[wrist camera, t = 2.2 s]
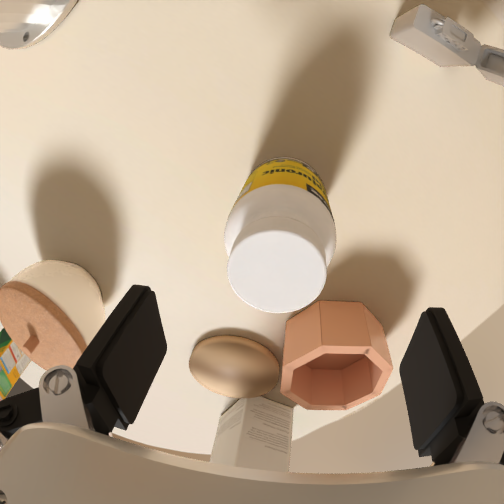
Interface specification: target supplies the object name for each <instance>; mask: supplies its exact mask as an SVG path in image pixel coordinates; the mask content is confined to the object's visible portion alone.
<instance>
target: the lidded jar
mask: <svg viewBox="0 0 504 504" xmlns="http://www.w3.org/2000/svg"><path fill="white" fill-rule="evenodd" d="M0 320H1V323H2V325H3V327H4V328H5V330H6V332H7V333H8V335H9V336H10V337H11V339H12V340H13V341H14V343H15V344H16V345H17V346H18V347H19V348H20V350H21V351H22V352H23V353H24V354H26V355H27V356H28V357H29V358H30V359H31V360H32V361H33V362H35V363H36V364H38V365H39V366H40V367H42V368H43V369H45V370H49V369H50V368H52V367H55V366H59V365H65V366H68V367H71V368H72V369H73V368H74V366H75V365H76V362H77V361H78V359H79V358H80V356H81V355H82V354H83V352H84V351H85V349H86V348H87V346H88V345H89V343H90V342H91V341H92V339H93V338H94V336H95V335H96V334H97V332H98V331H99V329H100V328H101V327H102V325H103V324H104V323H105V310H104V305H103V301H102V295H101V291H100V288H99V286H98V284H97V283H96V281H95V280H94V278H93V277H92V276H91V275H90V274H89V273H88V272H87V271H86V270H85V269H84V268H82V267H81V266H79V265H77V264H74V263H71V262H63V261H58V260H45V261H41V262H37V263H35V264H33V265H30V266H29V267H27V268H25V269H24V270H22V271H21V272H19V273H18V274H17V275H16V276H14V277H13V278H12V279H11V280H10V281H9V282H7V283H6V284H4V285H3V286H2V287H1V288H0Z"/></svg>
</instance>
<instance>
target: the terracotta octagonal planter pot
mask: <svg viewBox="0 0 504 504" xmlns="http://www.w3.org/2000/svg"><path fill="white" fill-rule="evenodd" d="M392 370H393V365H392V361H391V357H390V353H389V349H388V345H387V341H386V337H385V334H384V330H383V326H382V324H381V323H380V322H379V321H378V320H377V319H376V318H375V317H374V315H373V314H372V313H371V312H370V311H369V310H368V309H367V308H366V307H365V306H364V304H363V303H361V302H343V301H322V300H320V301H317V302H316V303H314V304H313V305H311V306H310V307H308V308H307V309H305V310H304V311H302V312H300V313H299V314H297V315H296V316H294V317H293V318H291V319H289V320H288V321H286V329H285V339H284V350H283V363H282V376H281V388H280V393H281V394H283V395H284V396H286V397H287V398H289V399H291V400H292V401H294V402H295V403H297V404H299V405H300V406H302V407H303V408H305V409H307V410H347V409H349V408H352V407H354V406H356V405H359V404H361V403H363V402H365V401H367V400H369V399H372V398H374V397H376V396H378V395H380V394H381V392H382V390H383V388H384V386H385V384H386V382H387V380H388V378H389V376H390V374H391V372H392Z"/></svg>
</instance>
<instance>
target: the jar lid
mask: <svg viewBox="0 0 504 504" xmlns="http://www.w3.org/2000/svg"><path fill="white" fill-rule="evenodd" d="M189 368H190V371H191V373H192V375H193V377H194V378H195V379H196V380H197V381H198V382H199V383H200V384H201V385H202V386H204V387H205V388H207V389H209V390H210V391H213V392H215V393H217V394H220V395H223V396H227V397H232V398H253V397H258V396H261V395H264V394H266V393H268V392H270V391H271V390H272V389H273V388H274V387H275V386H276V385H277V382H278V379H279V363H278V361H277V359H276V357H275V356H274V355H273V353H272V352H271V351H270V350H268V349H267V348H266V347H264V346H263V345H261V344H259V343H257V342H255V341H253V340H250V339H247V338H243V337H238V336H228V335H224V336H214V337H210V338H207V339H205V340H203V341H201V342H200V343H198V344H197V345H196V346H195V348H194V349H193V351H192V354H191V357H190V360H189Z"/></svg>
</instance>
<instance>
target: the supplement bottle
mask: <svg viewBox="0 0 504 504" xmlns="http://www.w3.org/2000/svg"><path fill="white" fill-rule="evenodd" d="M224 243H225V249H226V252H227V255H228V263H227V274H228V279H229V282H230V285H231V287H232V289H233V290H234V292H235V293H236V294H237V295H238V297H240V298H241V299H242V300H243V301H244V302H245V303H247V304H248V305H250V306H252V307H254V308H256V309H259V310H261V311H265V312H270V313H287V312H292V311H296V310H299V309H301V308H303V307H305V306H307V305H308V304H310V303H311V302H312V301H314V300H315V299H316V298H317V297H318V295H319V294H320V293H321V291H322V289H323V287H324V285H325V282H326V277H327V266H328V265H329V263H330V261H331V259H332V257H333V255H334V252H335V248H336V229H335V223H334V219H333V216H332V212H331V209H330V205H329V201H328V198H327V194H326V191H325V188H324V185H323V183H322V180H321V179H320V177H319V175H318V174H317V173H316V171H315V170H314V169H313V168H311V167H310V166H309V165H307V164H306V163H304V162H302V161H300V160H297V159H294V158H288V157H280V158H274V159H270V160H268V161H266V162H264V163H262V164H261V165H259V166H258V167H257V168H256V169H255V170H254V171H253V172H252V173H251V174H250V176H249V177H248V179H247V181H246V183H245V185H244V187H243V188H242V190H241V192H240V194H239V196H238V198H237V200H236V202H235V204H234V206H233V208H232V210H231V212H230V214H229V216H228V219H227V222H226V226H225V232H224Z"/></svg>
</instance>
